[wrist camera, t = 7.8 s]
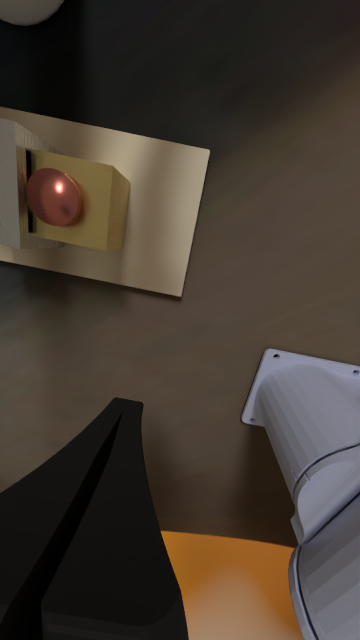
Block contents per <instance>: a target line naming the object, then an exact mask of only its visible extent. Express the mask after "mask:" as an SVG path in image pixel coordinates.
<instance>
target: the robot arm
mask: <svg viewBox="0 0 360 640" xmlns="http://www.w3.org/2000/svg"><path fill="white" fill-rule="evenodd" d="M275 354H278V356H277V357H273V356H274V355H275ZM355 370H356V372H354V371H355ZM353 372H354V373H353ZM143 406H144V404H143V403H142V402H138V401H133V400H128V399H122V398H117V397H116V398H114V399H113V400H112V401H111V402H110V403H109V404H108V406H107V407H106V408H105V409H104V410H103V411H102V412H101V413H100V414H99V415H98V416H97V417H96V418H95V419H94V420H93V421H92V422H91V423H90V424H89V425H88V426H87V427H86V428H85V429H84V430H83V431H82V432H81V433H80V434H78V435H77V436H76V437H75V438H74V439H73V440H72V441H70V442H69V443H68V444H67V445H66V446H65V447H63V448H62V449H61V450H60V451H59V452H57V453H56V454H55V455H54V456H52V457H51V458H50V459H48V460H47V461H46V462H44V463H43V464H42V465H41V466H39V467H38V468H36V469H35V470H34V471H32V472H31V473H29V474H28V475H26V476H25V477H24V478H22V479H21V480H19V481H18V482H16V483H15V484H13V485H12V486H10V487H9V488H7V489H6V490H4V491H3V492H1V493H0V640H189V638H188V630H187V623H186V617H185V612H184V606H183V601H182V595H181V590H180V587H179V584H178V581H177V579H176V576H175V573H174V571H173V568H172V565H171V562H170V559H169V557H168V553H167V550H166V547H165V544H164V541H163V538H162V535H161V531H160V528H159V524H158V521H157V517H156V513H155V510H154V506H153V502H152V498H151V494H150V489H149V485H148V480H147V475H146V469H145V463H144V455H143V446H142V433H141V418H142V412H143ZM241 418H242V421H243V422H244V423H247V424H252V425H257V426H262V427H265V430H266V432H267V435H268V438H269V440H270V443H271V445H272V448H273V451H274V453H275V456H276V458H277V461H278V464H279V466H280V469H281V471H282V474H283V477H284V479H285V482H286V484H287V487H288V490H289V492H290V495H291V497H292V500H293V503H294V505H295V514H294V516H293V517H292V518H291V520H290V521H291V524H292V526H293V529H294V532H295V535H296V538H297V541H298V544H299V545H298V546H297V547H296V548H295V549H294V551H293V552H292V555H291V558H290V562H289V569H288V572H289V573H288V574H289V588H290V595H291V599H292V603H293V608H294V612H295V615H296V618H297V621H298V625H299V628H300V630H301V633H302V635H303V638H304V640H360V366H355V365H350V364H345V363H340V362H335V361H330V360H325V359H320V358H315V357H310V356H305V355H300V354H295V353H290V352H285V351H280V350H275V349H267V350H265V352H264V354H263V356H262V359H261V362H260V365H259V368H258V371H257V373H256V376H255V379H254V382H253V385H252V387H251V390H250V393H249V396H248V399H247V402H246V404H245V407H244V410H243V413H242V416H241ZM251 418H254V419H252V420H250V419H251Z"/></svg>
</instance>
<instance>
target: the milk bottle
mask: <svg viewBox="0 0 360 640" xmlns="http://www.w3.org/2000/svg"><path fill="white" fill-rule="evenodd" d="M64 1H65V0H0V19H1V20H3V21H6V22H9V23H11V24H14V25H22V26H29V25H35V24H39V23H40V22H42V21H44V20H47V19H48V18H49V17H51V16H52V15H53V14H54V13H55V12H56V11H57V10H58V9H59V7H60V6H61V4H62V3H63V2H64Z"/></svg>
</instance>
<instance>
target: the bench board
mask: <svg viewBox="0 0 360 640" xmlns="http://www.w3.org/2000/svg"><path fill="white" fill-rule="evenodd" d="M0 118H2V119H7V120H12V121H15V122H17V123H18V124H20V125H21V126H23V127H24V128H26V129H27V130H29V131H30V132H32V133H33V134H34V135H36V136H37V137H39V138H40V139H42V140H43V141H45V142H46V143H48V144H49V145H51V146H52V147H54V148H55V149H57V150H58V151H59V152H61V153H62V154H64V155H65V156H69V157H74V158H79V159H83V160H88V161H93V162H98V163H102V164H107V165H112V166H114V167H115V168H116V169H117V170H118V171H119V172H120V173H121V174H122V175H123V176H124V177H125V178H126V179H127V180H128V181H129V182H130V192H129V201H128V211H127V220H126V229H125V239H124V248H123V249H121V250H110V251H104V250H99V249H95V248H90V247H85V246H80V245H75V244H70V243H66V242H65V247H60V248H31V249H18V248H13V247H8V246H3V245H0V260H1V261H6V262H11V263H16V264H21V265H26V266H31V267H36V268H41V269H46V270H51V271H56V272H61V273H66V274H71V275H76V276H81V277H86V278H91V279H96V280H101V281H105V282H110V283H115V284H120V285H125V286H130V287H135V288H140V289H145V290H150V291H155V292H160V293H165V294H170V295H175V296H180V297H181V295H182V290H183V285H184V280H185V275H186V270H187V265H188V260H189V255H190V250H191V245H192V240H193V235H194V230H195V225H196V220H197V214H198V209H199V204H200V199H201V194H202V189H203V184H204V179H205V174H206V169H207V164H208V159H209V154H210V150H207V149H202V148H197V147H192V146H188V145H183V144H178V143H173V142H168V141H163V140H159V139H154V138H149V137H144V136H139V135H135V134H130V133H125V132H120V131H115V130H110V129H106V128H101V127H96V126H91V125H86V124H82V123H77V122H72V121H67V120H62V119H57V118H53V117H48V116H43V115H38V114H33V113H29V112H24V111H19V110H14V109H9V108H4V107H0ZM26 172H28V173H32V169H31V164H28V163H26ZM28 228H33V218H31V217H28Z"/></svg>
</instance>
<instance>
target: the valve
mask: <svg viewBox="0 0 360 640" xmlns="http://www.w3.org/2000/svg"><path fill="white" fill-rule="evenodd" d="M31 169H32V173H28V172H26V177H27V209H28V217H31V218H33V236H37V237H41V238H46V239H51V240H56V241H61V242H66V243H70V244H75V245H80V246H85V247H90V248H95V249H99V250H104V251H110V250H121V249H123V248H124V239H125V229H126V220H127V211H128V201H129V192H130V182H129V181H128V180H127V179H126V178H125V177H124V176H123V175H122V174H121V173H120V172H119V171H118V170H117V169H116V168H115V167H114V166H112V165H107V164H102V163H98V162H93V161H88V160H83V159H79V158H74V157H69V156H64V155H60V154H55V153H50V152H45V151H41V150H36V149H31Z"/></svg>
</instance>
